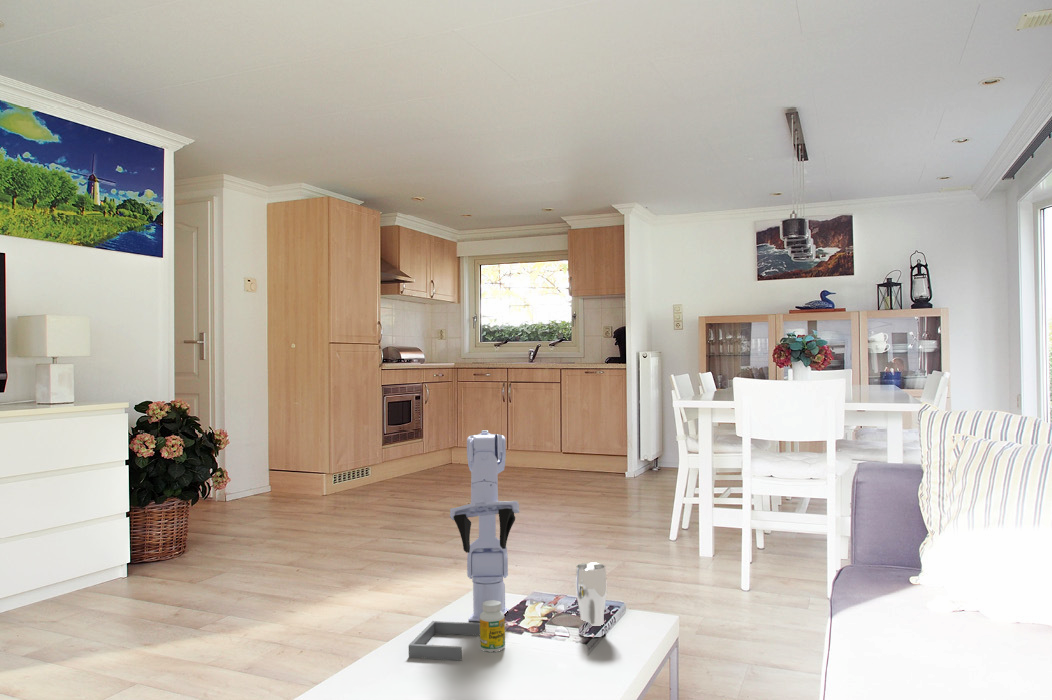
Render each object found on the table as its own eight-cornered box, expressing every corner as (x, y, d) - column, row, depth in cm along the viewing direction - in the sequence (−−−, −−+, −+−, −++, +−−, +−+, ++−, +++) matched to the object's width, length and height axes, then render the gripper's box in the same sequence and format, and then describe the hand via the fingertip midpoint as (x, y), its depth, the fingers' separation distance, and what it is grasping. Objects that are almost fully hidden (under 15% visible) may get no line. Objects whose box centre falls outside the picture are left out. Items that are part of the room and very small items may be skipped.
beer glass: (607, 628, 169) (606, 562, 170) (608, 639, 163) (606, 570, 163) (577, 628, 170) (575, 562, 171) (576, 638, 163) (574, 570, 164)
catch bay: (432, 632, 169) (432, 620, 169) (480, 634, 167) (480, 623, 167) (408, 657, 154) (408, 645, 154) (460, 660, 152) (460, 648, 152)
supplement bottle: (496, 642, 162) (496, 597, 163) (510, 649, 158) (509, 603, 158) (475, 647, 159) (474, 601, 160) (488, 654, 155) (487, 608, 155)
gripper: (446, 483, 157) (444, 546, 149) (513, 475, 154) (514, 539, 147) (456, 495, 162) (454, 557, 155) (520, 488, 160) (522, 550, 153)
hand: (484, 549), depth 151 cm, fingers open, 7 cm apart
